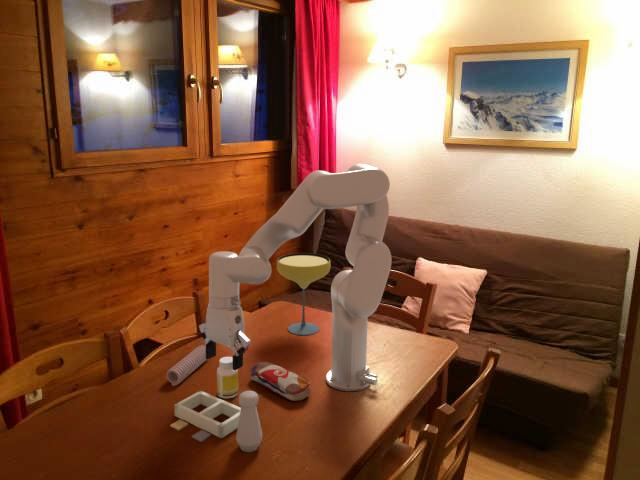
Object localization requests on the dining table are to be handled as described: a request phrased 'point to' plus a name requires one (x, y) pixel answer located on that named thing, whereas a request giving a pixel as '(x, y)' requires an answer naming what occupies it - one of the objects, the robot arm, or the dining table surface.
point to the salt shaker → (248, 422)
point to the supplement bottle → (227, 378)
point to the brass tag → (179, 425)
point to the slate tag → (201, 435)
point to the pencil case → (281, 381)
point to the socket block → (208, 413)
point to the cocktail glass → (303, 280)
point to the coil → (186, 365)
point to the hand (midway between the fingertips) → (224, 362)
